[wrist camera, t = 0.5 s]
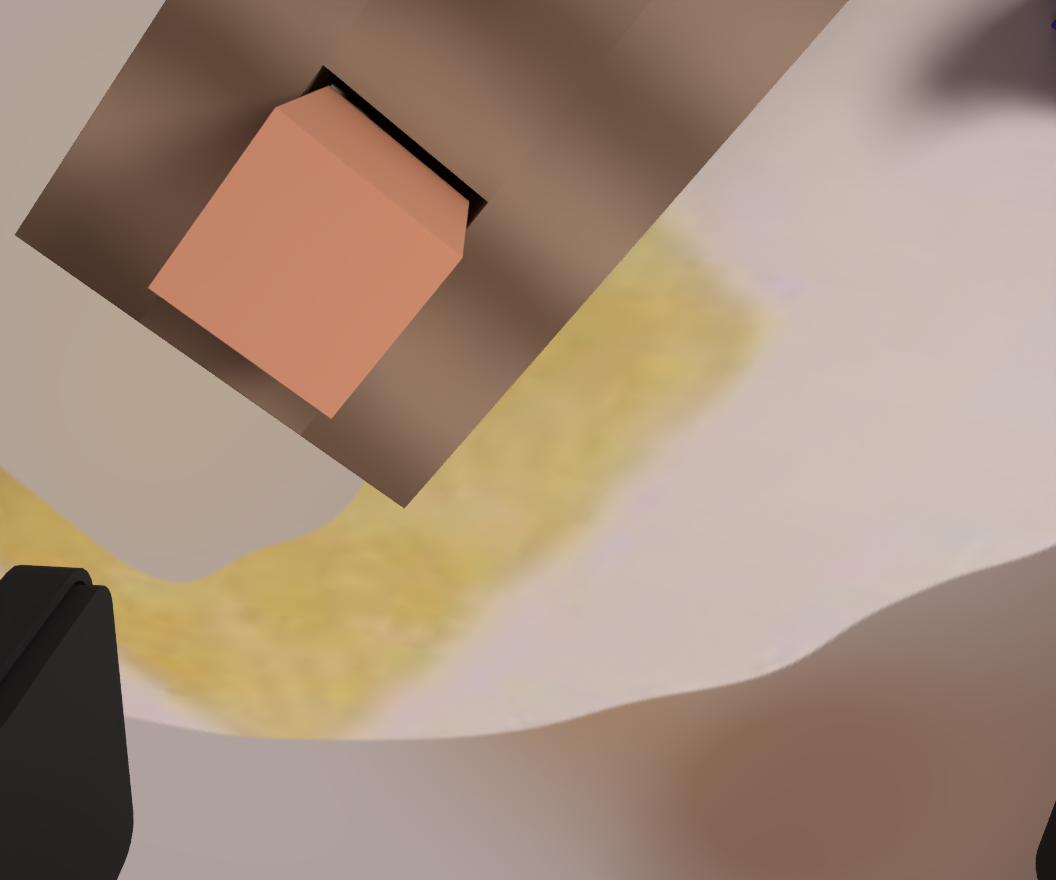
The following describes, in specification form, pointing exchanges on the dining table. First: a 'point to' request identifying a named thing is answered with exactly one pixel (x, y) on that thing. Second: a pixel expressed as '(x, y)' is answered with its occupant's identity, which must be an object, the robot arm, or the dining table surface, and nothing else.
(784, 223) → the dining table surface
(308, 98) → the terracotta plunger
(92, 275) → the button box
